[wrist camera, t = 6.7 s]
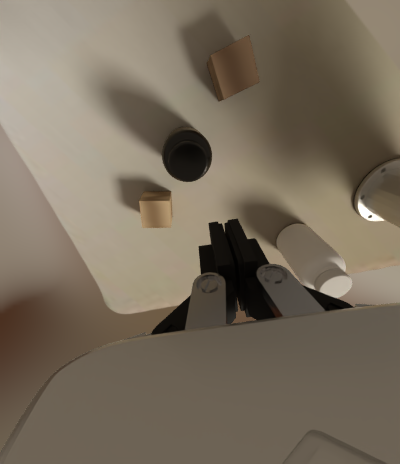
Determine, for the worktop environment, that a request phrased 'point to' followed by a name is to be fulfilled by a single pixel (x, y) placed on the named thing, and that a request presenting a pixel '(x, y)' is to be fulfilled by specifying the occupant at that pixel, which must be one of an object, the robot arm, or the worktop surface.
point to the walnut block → (233, 68)
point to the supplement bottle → (186, 154)
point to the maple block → (156, 209)
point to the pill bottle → (313, 260)
